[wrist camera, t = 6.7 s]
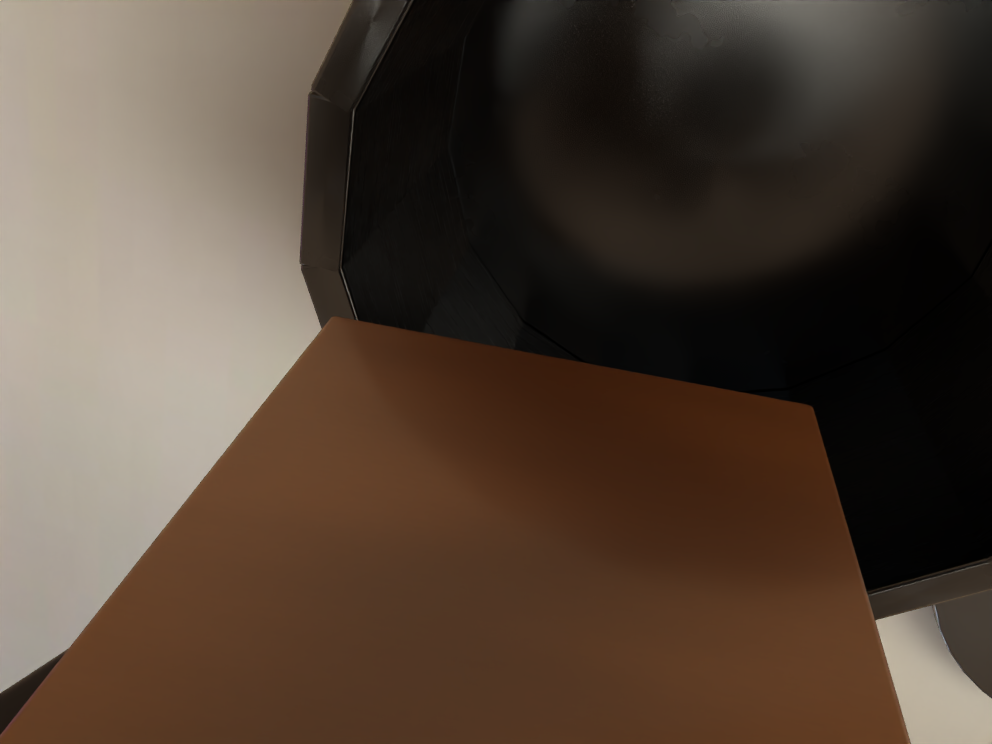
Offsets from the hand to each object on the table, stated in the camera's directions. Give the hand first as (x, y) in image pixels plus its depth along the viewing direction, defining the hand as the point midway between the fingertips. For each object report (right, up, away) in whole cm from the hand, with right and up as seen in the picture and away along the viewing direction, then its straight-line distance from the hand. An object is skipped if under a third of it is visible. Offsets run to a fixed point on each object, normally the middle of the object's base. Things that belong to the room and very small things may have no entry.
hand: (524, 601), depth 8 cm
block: (0, +1, +1) cm, 1 cm away
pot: (+5, +7, +9) cm, 12 cm away
